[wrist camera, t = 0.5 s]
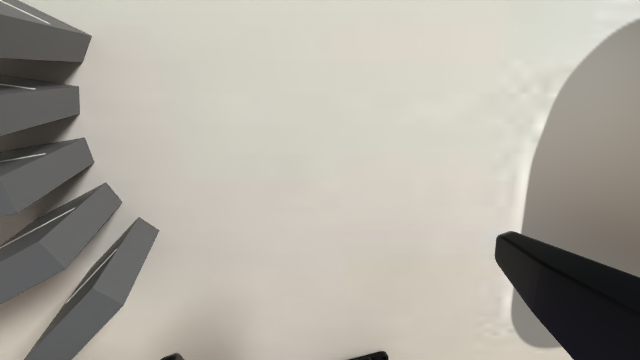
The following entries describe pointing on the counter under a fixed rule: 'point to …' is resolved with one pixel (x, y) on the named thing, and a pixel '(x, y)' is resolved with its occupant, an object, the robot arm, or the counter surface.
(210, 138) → the counter surface
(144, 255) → the domino
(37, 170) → the domino
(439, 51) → the counter surface
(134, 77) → the counter surface
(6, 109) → the domino
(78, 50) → the domino
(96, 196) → the domino
